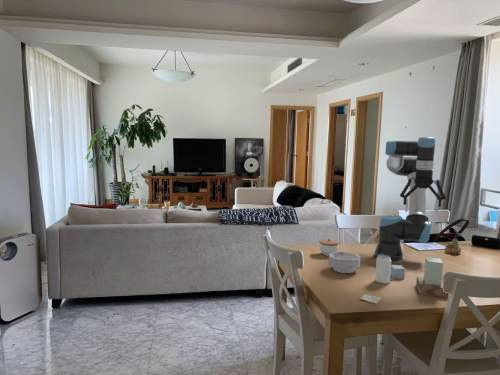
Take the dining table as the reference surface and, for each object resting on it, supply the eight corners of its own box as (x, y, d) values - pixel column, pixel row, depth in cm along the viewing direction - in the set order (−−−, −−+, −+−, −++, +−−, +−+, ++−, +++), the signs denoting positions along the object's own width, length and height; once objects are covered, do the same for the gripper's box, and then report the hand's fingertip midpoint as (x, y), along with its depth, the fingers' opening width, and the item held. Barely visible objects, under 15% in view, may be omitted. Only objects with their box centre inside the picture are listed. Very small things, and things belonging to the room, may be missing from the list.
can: (388, 285, 167) (389, 259, 166) (373, 282, 171) (375, 256, 169) (391, 280, 173) (392, 255, 171) (377, 277, 176) (378, 253, 175)
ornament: (443, 252, 220) (445, 236, 218) (446, 250, 224) (447, 234, 223) (458, 255, 214) (460, 238, 213) (461, 253, 219) (462, 237, 218)
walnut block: (419, 294, 158) (420, 285, 157) (416, 284, 168) (416, 276, 168) (448, 297, 154) (449, 288, 154) (442, 288, 165) (443, 279, 164)
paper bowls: (338, 263, 196) (339, 249, 195) (365, 271, 185) (366, 255, 185) (322, 270, 186) (323, 254, 185) (349, 278, 175) (350, 262, 174)
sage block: (425, 283, 159) (427, 261, 158) (423, 279, 164) (425, 257, 163) (441, 285, 157) (443, 262, 156) (438, 280, 163) (440, 258, 161)
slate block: (393, 278, 176) (394, 268, 175) (390, 274, 181) (390, 265, 180) (404, 278, 176) (404, 268, 175) (400, 275, 181) (401, 265, 180)
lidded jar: (340, 253, 214) (341, 238, 213) (334, 258, 205) (334, 242, 204) (322, 250, 220) (323, 235, 218) (315, 255, 211) (316, 239, 209)
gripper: (397, 168, 179) (394, 211, 182) (454, 170, 172) (451, 215, 175) (396, 167, 186) (393, 209, 189) (451, 169, 179) (447, 212, 182)
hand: (421, 212), depth 182 cm, fingers open, 13 cm apart
